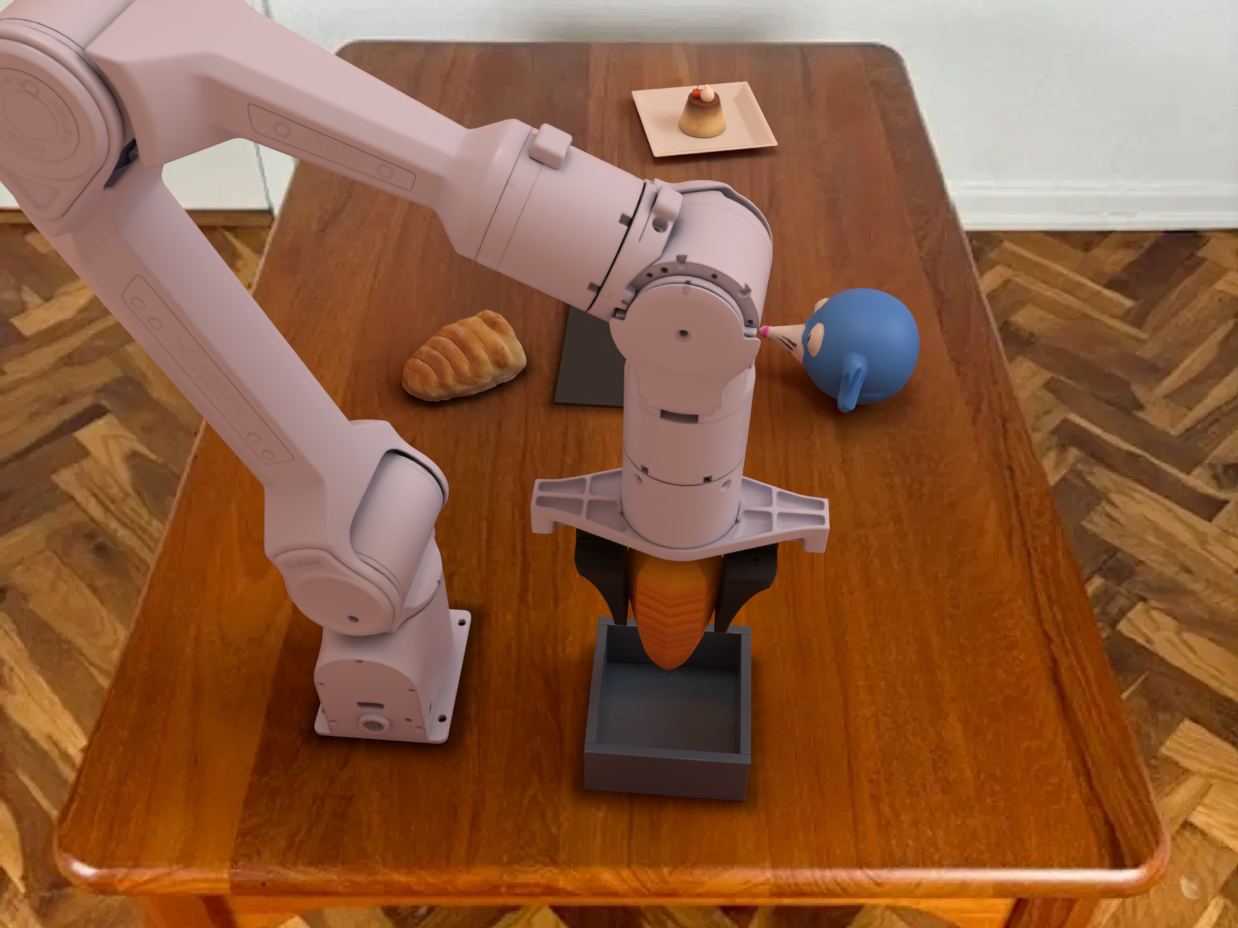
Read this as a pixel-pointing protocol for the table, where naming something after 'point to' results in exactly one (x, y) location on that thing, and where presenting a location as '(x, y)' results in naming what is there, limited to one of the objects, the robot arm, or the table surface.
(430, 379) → the pastry
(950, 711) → the table surface
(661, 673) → the bin
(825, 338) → the blue mole toy
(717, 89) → the dessert
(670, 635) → the carrot
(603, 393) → the mat
